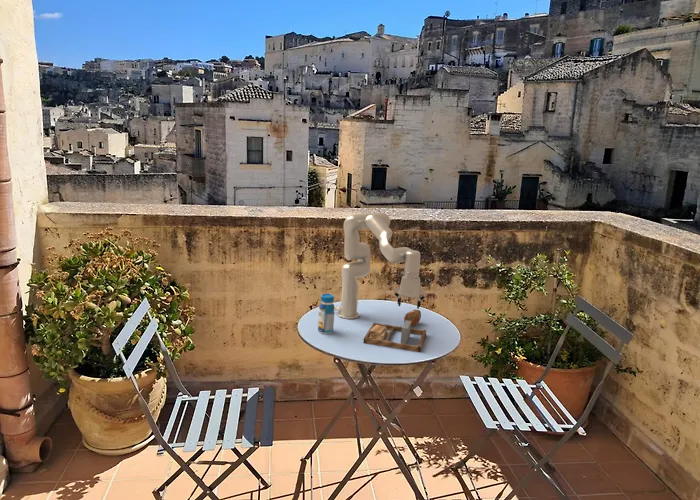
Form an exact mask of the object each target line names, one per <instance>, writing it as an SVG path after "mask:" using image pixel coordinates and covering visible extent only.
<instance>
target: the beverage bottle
mask: <svg viewBox="0 0 700 500" xmlns="http://www.w3.org/2000/svg"><path fill="white" fill-rule="evenodd" d="M334 301H335V295H334V294H332V293H323V294H321V296H320V302H321V303H320V304H319V307H318V324H317V325H318V327H317V331H318V332H319V333H320V334H324V335H329V334H332V333H334V326H335V325H334V322H335V307H334V306H335V304H334Z"/></svg>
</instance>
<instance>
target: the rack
mask: <svg viewBox="0 0 700 500" xmlns="http://www.w3.org/2000/svg"><path fill="white" fill-rule="evenodd" d="M375 325H381V326H386V331H388V333H387V335H386V337H385V338H384V339H383V340H377V339H371V338H369V336H370V335H371V334H370V330H371V329H372V328H373V327H374V326H375ZM402 327H403V326H397V325H391V324H385V323H378V322H373V323H372V325H371V326H370V328H369V329H368V331H367V332H366V334H365V336H364V337H363V340H362V341H363V344H368V345H374V346H381V347H385V348H392V349H399V350H405V351H411V352H415V353H417V352H418V353H421V351H422V348H423V345H424V342H425V340H424V339H425V338H426V337H425V336H427V329H423V330H422V329H417V328H413V327H411V328H410V335H411V334H412V335H416V336H417V335H418V336H420V339H419V342H418V344H417V345H413V344H408V343H407V344H402V343H401V342H395V341H390V340H391V337H392V336H393V334H394V332H397V333H401V332H402Z"/></svg>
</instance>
